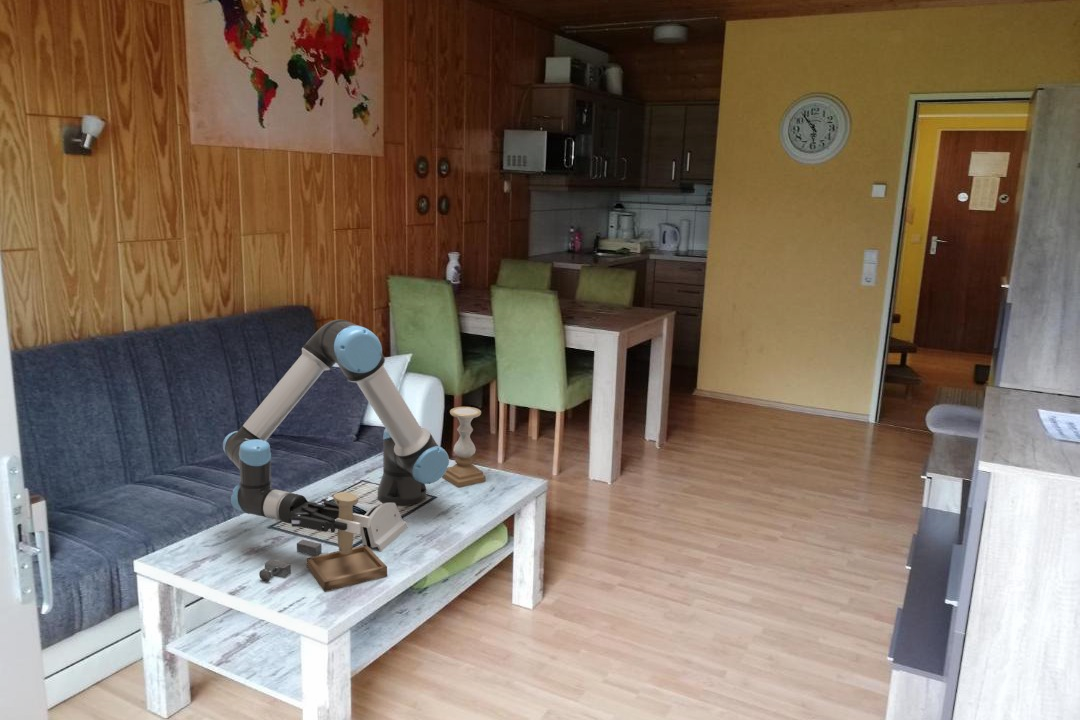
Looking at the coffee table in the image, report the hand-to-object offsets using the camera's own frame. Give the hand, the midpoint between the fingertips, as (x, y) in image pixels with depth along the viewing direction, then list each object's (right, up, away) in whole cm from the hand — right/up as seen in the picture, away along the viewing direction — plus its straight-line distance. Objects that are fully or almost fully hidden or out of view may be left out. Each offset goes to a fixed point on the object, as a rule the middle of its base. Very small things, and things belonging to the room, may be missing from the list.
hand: (364, 525), depth 196 cm
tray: (-6, -13, +5) cm, 15 cm away
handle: (-6, -8, +4) cm, 10 cm away
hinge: (0, -9, +25) cm, 27 cm away
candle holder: (+18, +1, +70) cm, 72 cm away
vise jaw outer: (-23, -13, +1) cm, 26 cm away
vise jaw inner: (-18, -10, +14) cm, 25 cm away
